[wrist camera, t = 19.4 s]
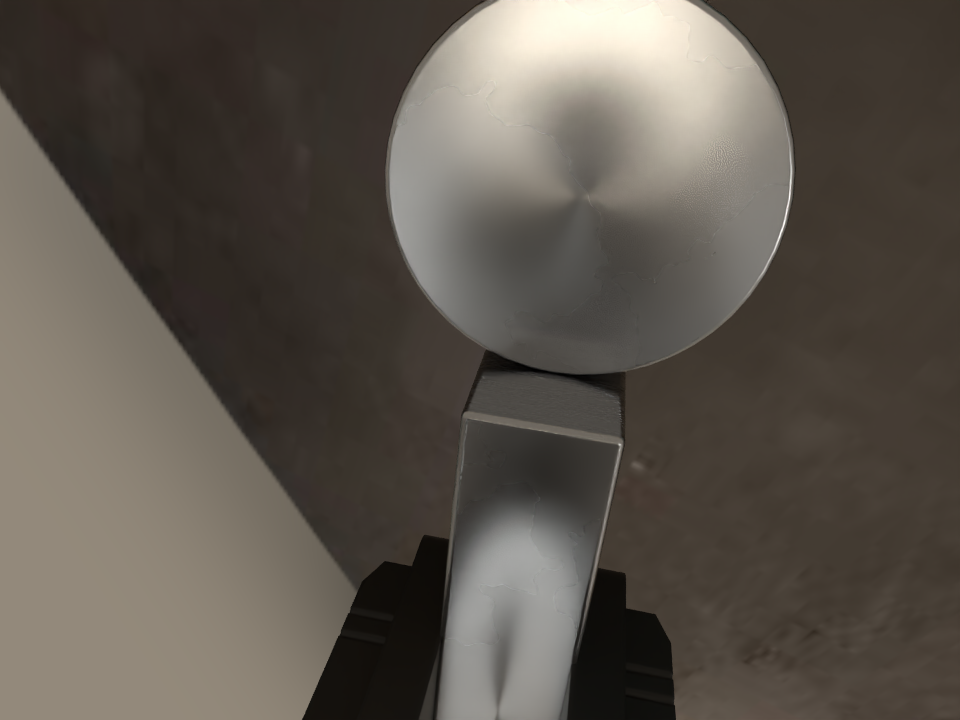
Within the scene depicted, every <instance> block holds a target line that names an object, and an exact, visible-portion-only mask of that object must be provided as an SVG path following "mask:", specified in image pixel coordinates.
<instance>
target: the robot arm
mask: <svg viewBox="0 0 960 720" xmlns="http://www.w3.org/2000/svg"><path fill="white" fill-rule="evenodd" d="M448 544H449V539H444V538H439V537H434V536H429V535H424V536H423V538H422V540H421V543H420V545H419V548H418V551H417V554H416V556H415V559H414V562H413V565H412V566H407V565H402V564H397V563H392V562H386V561H385V562H383V563H382V564H381V565H380V566H379V567H378V568H377V569H376V570H375V571H373V572H372V573H371V574H370V575H369V576H368V577H367V578H366V579H364V580H363V581H362V583H361V585H360V588H359V590H358V592H357V595H356V597H355V599H354V602H353V604H352V606H351V610H350V613H348V615H347V618H346V620H345V622H344V625H343V627H342V629H341V634H340V636H338V638H337V641H336V643H335V645H334V648H333V650H332V653H331V655H330V657H329V659H328V662H327V664H326V666H325V668H324V671H323V673H322V676H321V678H320V680H319V682H318V685H317V687H316V690H315V692H314V694H313V696H312V698H311V701H310V703H309V705H308V708H307V710H306V712H305V715H304V717H303V719H302V720H433V715H434V705H435V696H436V686H437V676H438V667H439V657H440V648H441V638H442V636H441V635H440V624H441V614H442V604H443V594H444V584H445V574H446V564H447V554H448ZM672 675H673V668H672V652H671V643H670V641H669V639H668V637H667V635H666V633H665V631H664V629H663V628H662V626H661V624H660V622H659V620H658V618H657V616H656V615H655V614H651V613H646V612H641V611H636V610H631V609H626V575H625V573H622V572H616V571H611V570H606V569H601V568H598V570H597V575H596V580H595V584H594V589H593V593H592V598H591V603H590V607H589V612H588V616H587V621H586V626H585V630H584V635H583V639H582V644H581V649H580V653H579V658H578V661H577V662H576V663H575V664H572V665H571V669H570V674H569V678H568V683H567V688H566V692H565V697H564V702H563V706H562V711H561V716H560V720H676V715H675V705H674V684H673V680H672Z"/></svg>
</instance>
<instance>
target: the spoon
mask: <svg viewBox="0 0 960 720" xmlns="http://www.w3.org/2000/svg"><path fill="white" fill-rule="evenodd" d="M795 172H796V166H795V150H794V139H793V134H792V129H791V125H790V120H789V115H788V111H787V109H786V106H785V103H784V100H783V98H782V95H781V92H780V89H779V87H778V85H777V83H776V81H775V79H774V77H773V75H772V74H771V72H770V70H769V68H768V66H767V64H766V62H765V61H764V59H763V58H762V57H761V55H760V54H759V53H758V51H757V50H756V49H755V47H754V46H753V45H752V43H751V42H750V41H749V39H748V38H747V37H746V36H745V35H744V34H743V33H742V32H741V31H740V30H739V29H738V28H737V27H736V26H735V25H734V24H733V23H732V22H731V21H730V20H729V19H728V18H727V17H726V16H725V15H723V14H722V13H721V12H719V11H718V10H716V9H715V8H714V7H712V6H711V5H710V4H708V3H707V2H705V1H704V0H484V1H482V2H480V3H478V4H477V5H475V6H474V7H473V8H471V9H470V10H469V11H468V12H466V13H465V14H464V15H462V16H461V17H460V18H459V19H457V20H456V21H455V22H454V23H452V24H451V26H450V27H449V28H448V29H447V30H446V31H445V32H444V33H443V34H442V35H441V36H440V37H439V38H438V39H437V40H436V41H435V42H434V43H433V44H432V46H431V47H430V49H429V50H428V51H427V53H426V54H425V55H424V57H423V58H422V60H421V61H420V62H419V64H418V65H417V66H416V68H415V70H414V72H413V74H412V76H411V77H410V79H409V81H408V83H407V85H406V87H405V89H404V90H403V93H402V96H401V98H400V101H399V103H398V106H397V109H396V111H395V114H394V117H393V121H392V125H391V130H390V134H389V138H388V143H387V153H386V162H385V191H386V199H387V206H388V212H389V218H390V222H391V225H392V229H393V233H394V236H395V240H396V243H397V245H398V247H399V250H400V252H401V254H402V257H403V259H404V262H405V264H406V266H407V267H408V269H409V271H410V273H411V274H412V276H413V278H414V280H415V281H416V283H417V285H418V286H419V288H420V289H421V290H422V292H423V293H424V294H425V296H426V297H427V298H428V300H429V301H430V302H431V304H432V305H433V306H434V307H435V308H436V309H437V310H438V311H439V312H440V313H441V314H442V315H443V316H444V317H445V318H446V319H447V321H448V322H450V323H451V324H452V325H453V326H454V327H456V328H457V329H458V330H459V331H461V332H462V333H463V334H464V335H465V336H467V337H468V338H470V339H471V340H473V341H474V342H476V343H478V344H479V345H481V346H482V347H484V348H485V349H486V351H485V353H484V356H483V359H482V361H481V364H480V367H479V369H478V372H477V375H476V377H475V380H474V383H473V385H472V388H471V391H470V393H469V396H468V399H467V401H466V404H465V407H464V409H463V412H462V415H461V425H460V435H459V445H458V455H457V465H456V475H455V485H454V495H453V505H452V514H451V524H450V534H449V544H448V554H447V564H446V574H445V584H444V594H443V604H442V614H441V624H440V635H441V636H442V638H441V648H440V657H439V667H438V676H437V686H436V696H435V705H434V715H433V720H560V716H561V711H562V706H563V702H564V697H565V692H566V688H567V683H568V678H569V674H570V669H571V665H572V664H575V663H576V662H577V661H578V658H579V653H580V649H581V644H582V639H583V635H584V630H585V626H586V621H587V616H588V612H589V607H590V603H591V598H592V593H593V589H594V584H595V580H596V575H597V570H598V566H599V561H600V557H601V552H602V547H603V543H604V538H605V534H606V529H607V524H608V520H609V515H610V511H611V506H612V501H613V497H614V492H615V488H616V483H617V478H618V474H619V469H620V465H621V460H622V455H623V451H624V446H625V378H626V371H628V370H633V369H637V368H641V367H645V366H648V365H651V364H654V363H656V362H659V361H662V360H664V359H667V358H670V357H672V356H674V355H676V354H678V353H680V352H682V351H684V350H685V349H687V348H689V347H691V346H693V345H695V344H696V343H698V342H699V341H700V340H702V339H703V338H705V337H706V336H708V335H709V334H711V333H712V332H714V331H715V330H716V329H717V328H718V327H720V326H721V325H722V324H723V323H724V322H725V321H726V320H728V319H729V318H730V317H731V316H732V315H733V314H734V313H735V312H736V311H737V310H738V309H739V308H740V307H741V306H742V304H743V303H744V302H745V301H746V300H747V299H748V298H749V297H750V295H751V294H752V293H753V291H754V290H755V289H756V287H757V286H758V284H759V283H760V281H761V280H762V278H763V277H764V276H765V274H766V273H767V271H768V269H769V267H770V265H771V263H772V261H773V259H774V257H775V255H776V253H777V251H778V249H779V247H780V244H781V241H782V238H783V236H784V233H785V230H786V227H787V224H788V220H789V216H790V211H791V206H792V202H793V197H794V185H795Z"/></svg>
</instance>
